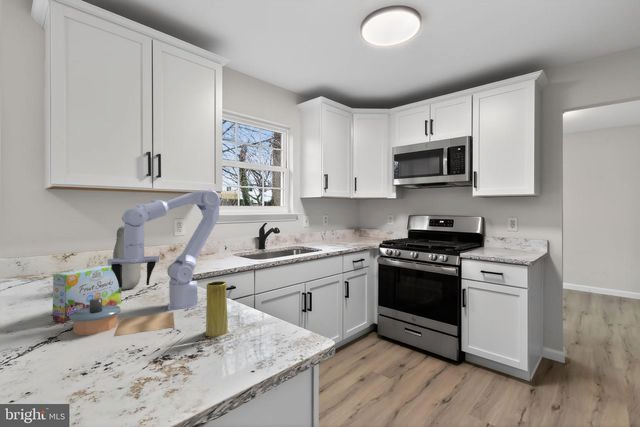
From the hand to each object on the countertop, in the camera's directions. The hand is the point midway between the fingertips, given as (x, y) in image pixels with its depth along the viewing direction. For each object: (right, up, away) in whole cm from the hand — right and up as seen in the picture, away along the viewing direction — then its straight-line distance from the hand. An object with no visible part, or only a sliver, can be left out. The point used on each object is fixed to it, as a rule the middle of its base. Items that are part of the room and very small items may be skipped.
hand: (134, 285), depth 103 cm
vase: (+32, -10, -15) cm, 37 cm away
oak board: (+8, -10, -8) cm, 15 cm away
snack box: (-18, -10, +5) cm, 21 cm away
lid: (-4, -6, -12) cm, 14 cm away
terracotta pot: (-4, -10, -12) cm, 16 cm away
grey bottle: (-25, -10, +36) cm, 45 cm away
